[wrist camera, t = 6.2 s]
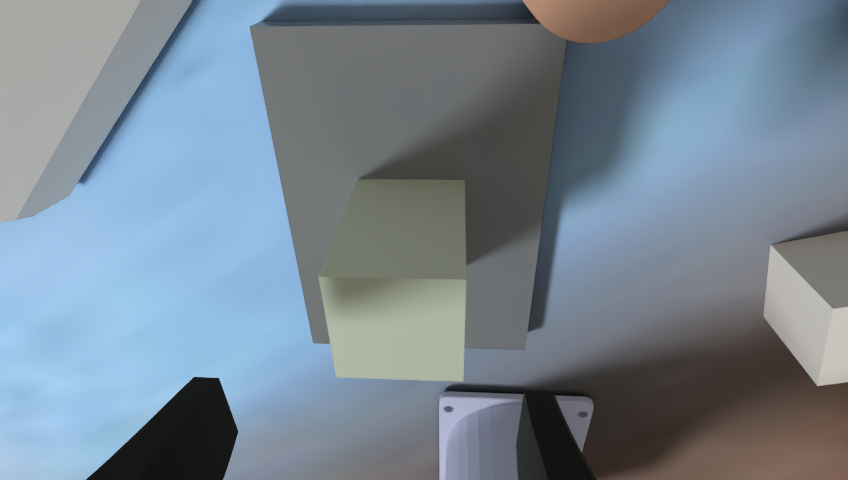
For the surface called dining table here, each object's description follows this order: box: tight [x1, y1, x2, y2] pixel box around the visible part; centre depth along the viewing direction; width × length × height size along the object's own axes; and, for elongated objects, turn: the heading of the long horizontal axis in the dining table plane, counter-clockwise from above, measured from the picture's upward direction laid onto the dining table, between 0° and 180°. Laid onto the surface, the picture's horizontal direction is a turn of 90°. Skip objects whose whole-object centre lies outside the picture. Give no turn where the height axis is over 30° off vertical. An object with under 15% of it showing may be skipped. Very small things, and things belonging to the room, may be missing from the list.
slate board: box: [250, 19, 567, 350], centre depth 19 cm, size 14×10×1 cm
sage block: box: [318, 179, 466, 382], centre depth 17 cm, size 4×4×6 cm
